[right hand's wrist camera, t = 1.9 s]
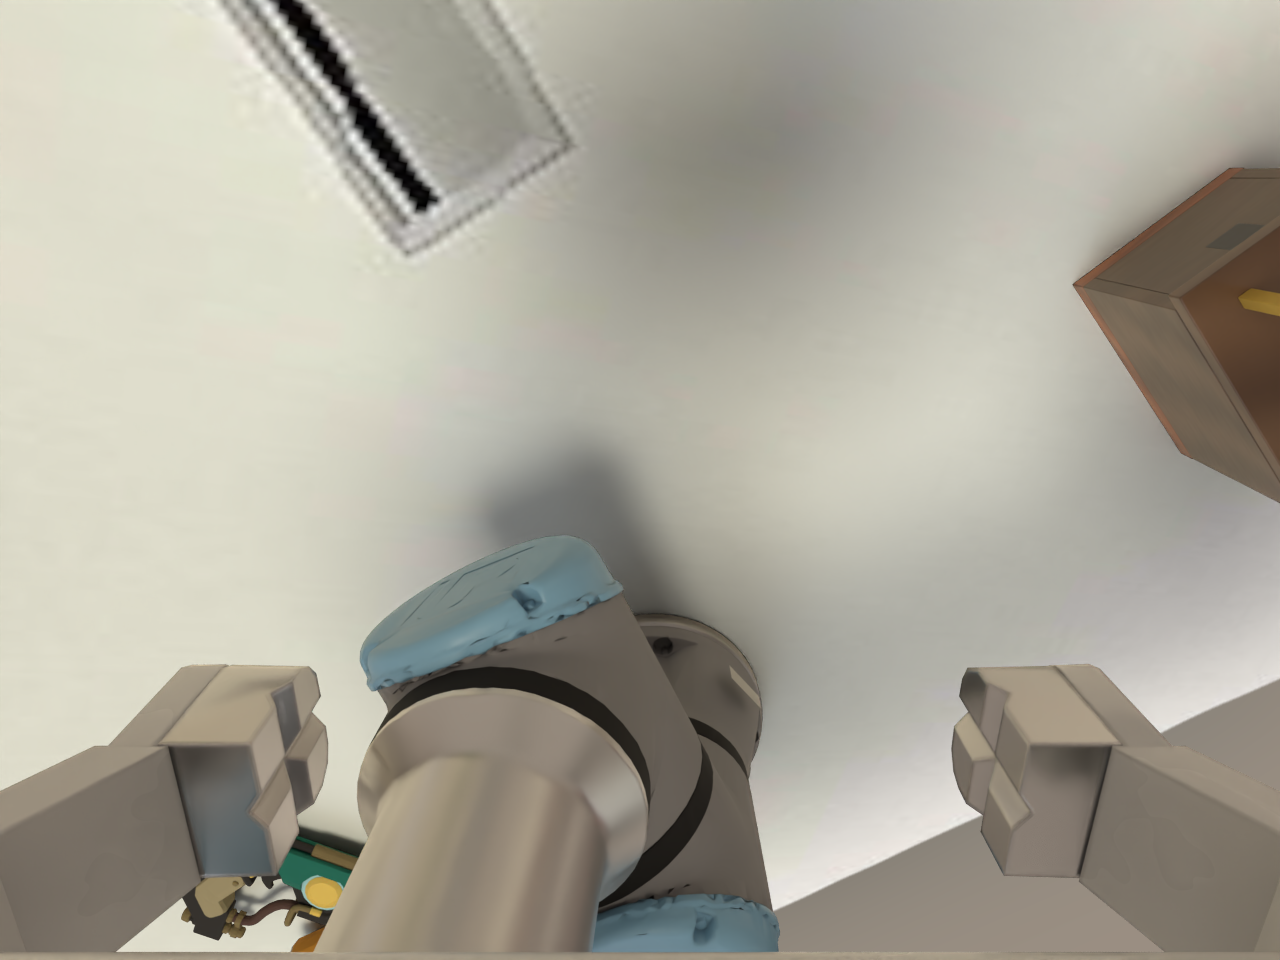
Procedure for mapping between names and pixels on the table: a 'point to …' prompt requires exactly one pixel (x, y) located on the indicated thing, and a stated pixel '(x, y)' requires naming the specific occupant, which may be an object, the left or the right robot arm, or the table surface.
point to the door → (1242, 330)
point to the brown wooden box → (1157, 336)
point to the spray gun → (314, 884)
